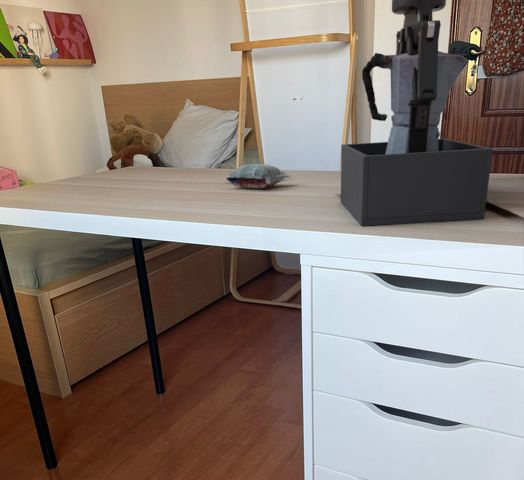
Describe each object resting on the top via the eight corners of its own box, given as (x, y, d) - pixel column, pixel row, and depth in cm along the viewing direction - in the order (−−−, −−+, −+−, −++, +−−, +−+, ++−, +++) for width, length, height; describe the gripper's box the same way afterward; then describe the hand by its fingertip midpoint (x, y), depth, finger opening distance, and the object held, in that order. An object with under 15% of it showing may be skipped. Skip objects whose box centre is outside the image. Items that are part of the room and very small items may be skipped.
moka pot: (460, 180, 80) (477, 28, 72) (358, 183, 83) (362, 37, 75) (452, 172, 89) (465, 35, 80) (359, 174, 92) (363, 42, 83)
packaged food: (249, 182, 124) (248, 160, 122) (291, 185, 118) (290, 162, 115) (225, 189, 118) (223, 166, 116) (268, 192, 112) (266, 168, 109)
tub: (440, 196, 97) (446, 138, 93) (483, 218, 80) (493, 148, 75) (340, 202, 97) (341, 144, 93) (361, 226, 80) (363, 156, 75)
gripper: (377, -7, 84) (371, 145, 94) (415, -37, 65) (402, 158, 75) (424, -10, 84) (413, 143, 94) (475, -40, 65) (455, 155, 75)
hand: (408, 149), depth 84 cm, fingers closed on moka pot, 8 cm apart
